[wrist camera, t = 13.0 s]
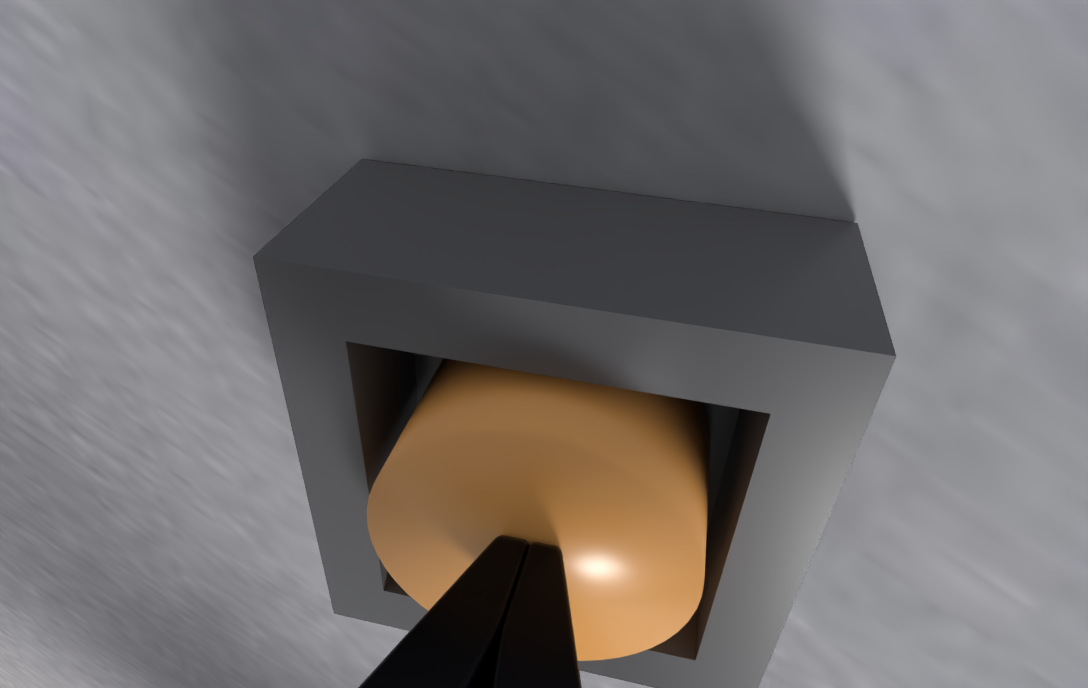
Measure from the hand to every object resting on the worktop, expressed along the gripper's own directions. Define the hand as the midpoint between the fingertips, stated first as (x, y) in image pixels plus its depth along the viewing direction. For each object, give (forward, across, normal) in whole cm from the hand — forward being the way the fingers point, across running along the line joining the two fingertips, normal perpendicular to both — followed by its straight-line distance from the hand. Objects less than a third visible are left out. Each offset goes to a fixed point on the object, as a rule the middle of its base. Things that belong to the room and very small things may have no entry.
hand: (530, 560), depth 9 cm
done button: (+2, 0, 0) cm, 2 cm away
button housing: (+4, 0, 0) cm, 4 cm away
